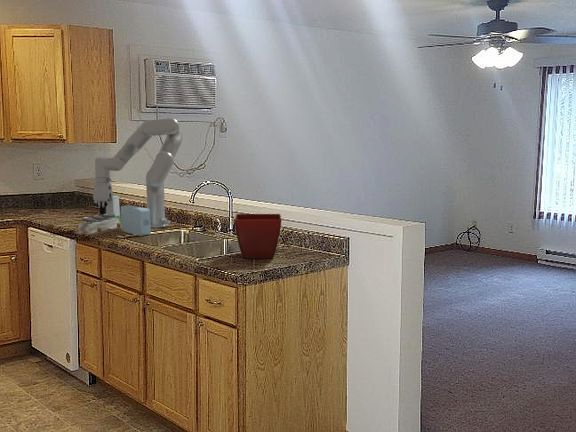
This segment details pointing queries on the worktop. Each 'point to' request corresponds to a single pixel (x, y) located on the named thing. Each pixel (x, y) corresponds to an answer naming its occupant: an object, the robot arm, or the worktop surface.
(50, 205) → the worktop surface
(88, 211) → the worktop surface
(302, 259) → the worktop surface
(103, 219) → the rocker
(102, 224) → the switch unit
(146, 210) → the light blue rectangular block
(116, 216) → the skincare box
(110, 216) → the block
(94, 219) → the block
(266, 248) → the plant pot
